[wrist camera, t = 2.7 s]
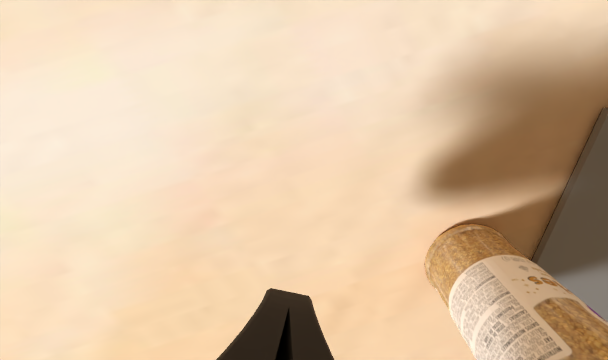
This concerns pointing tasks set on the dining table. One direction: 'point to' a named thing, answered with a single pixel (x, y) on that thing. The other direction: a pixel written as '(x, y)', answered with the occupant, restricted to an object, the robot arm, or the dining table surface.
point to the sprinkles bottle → (510, 301)
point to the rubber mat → (582, 227)
